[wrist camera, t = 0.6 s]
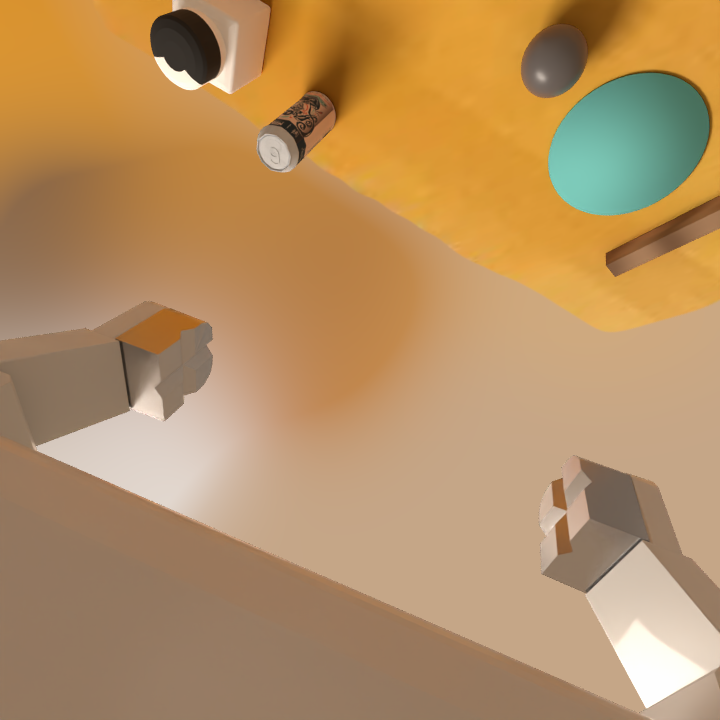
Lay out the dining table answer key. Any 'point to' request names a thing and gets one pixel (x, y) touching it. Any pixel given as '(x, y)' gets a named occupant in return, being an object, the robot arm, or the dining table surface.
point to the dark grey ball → (554, 60)
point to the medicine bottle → (211, 42)
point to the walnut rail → (665, 238)
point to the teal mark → (628, 144)
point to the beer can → (296, 132)
